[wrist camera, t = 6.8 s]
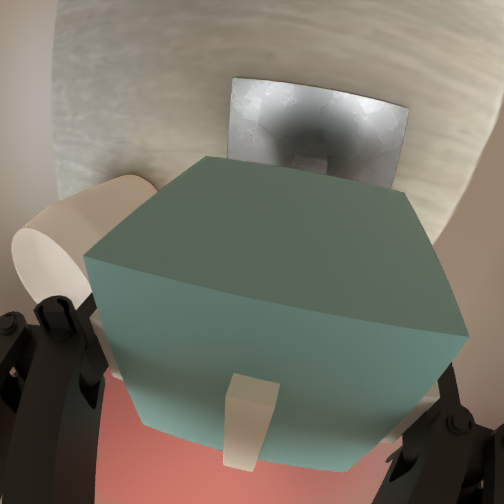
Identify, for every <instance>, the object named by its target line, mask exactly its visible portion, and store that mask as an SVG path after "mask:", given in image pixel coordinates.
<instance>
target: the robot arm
mask: <svg viewBox="0 0 504 504" xmlns="http://www.w3.org/2000/svg"><path fill="white" fill-rule="evenodd" d="M33 311H34V313H35V315H36V317H37V319H38V321H39V323H40V326H39V325H30V324H27V322H26V320H25V318H24V316H23V315H22V314H21V313H19V312H14V311H13V312H9V313H6V314H4V315H2V316H1V317H0V499H1V496H2V504H94V499H95V474H96V459H97V445H98V436H99V427H100V417H101V410H102V402H103V394H104V388H105V378H104V376H103V374H104V372H105V371H106V369H107V368H108V366H109V369H110V371H111V373H112V376H113V377H116V378H118V379H120V380H123V379H122V376H121V374H120V371H119V369H118V366H117V364H116V361H115V358H114V356H113V353H112V350H111V348H110V345H109V342H108V339H107V337H106V334H105V331H104V328H103V325H102V322H101V319H100V316H99V313H98V309H97V306H96V303H95V300H94V296H93V293H91V294H90V295H89V296H88V297H87V298H86V299H85V300H84V302H83V303H82V304H81V305H80V306H79V307H78V308H77V310H75V307H74V305H73V303H72V300H70V299H69V298H68V297H66V296H61V295H57V296H51V297H48V298H46V299H44V300H42V301H41V302H40V303H39V304H37V306H36V307H35V309H34V310H33ZM12 367H14V369H15V370H16V372H15V373H14V374H13V375H10V373H9V372H10V370H11V369H12ZM400 436H402V437H403V438H402V439H403V445H402V446H401V447H400V448H399V449H398V450H396V451H395V452H394V453H393V454H391V455H390V456H389V457H388V458H387V460H386V461H385V462H387V463H388V462H390V461H391V460H392V459H393V461H392V463H391V465H390V467H389V470H388V472H387V474H386V476H385V478H384V480H383V482H382V485H381V486H380V488H379V490H378V493H377V494H376V496H375V498H374V500H373V502H372V504H504V424H502V425H501V426H500V427H498V428H497V429H496V430H495V431H494V430H491V429H489V428H486V427H483V426H480V425H478V424H475V421H474V418H473V416H472V414H471V413H470V412H469V410H468V409H466V408H465V407H463V406H462V405H461V403H460V399H459V393H458V388H457V383H456V378H455V373H454V369H453V367H452V362H451V363H450V365H449V366H448V367H447V369H446V370H445V371H444V372H443V374H442V375H441V376H440V377H439V379H438V380H437V381H436V382H435V383H434V385H433V386H432V387H431V388H430V389H429V391H428V392H427V393H426V394H425V395H424V396H423V398H422V399H421V400H420V401H419V402H418V403H417V404H416V405H415V407H414V408H413V409H412V410H411V411H410V412H409V413H408V414H407V415H406V416H405V417H404V418H403V419H402V420H401V421H400V422H399V424H398V425H397V426H396V427H395V428H394V429H393V430H392V431H391V432H390V433H389V434H387V435H386V436H385V437H384V438H383V439H382V440H381V441H380V442H395V441H396V440H397V439H398V438H399V437H400ZM483 480H484V482H483V488H482V487H481V481H483Z"/></svg>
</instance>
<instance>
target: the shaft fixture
mask: <svg viewBox="0 0 504 504" xmlns="http://www.w3.org/2000/svg"><path fill="white" fill-rule="evenodd" d="M408 114H409V109H408V108H406V107H403V106H399V105H396V104H392V103H389V102H385V101H381V100H377V99H373V98H369V97H364V96H360V95H356V94H351V93H346V92H341V91H336V90H331V89H326V88H320V87H314V86H308V85H301V84H294V83H287V82H279V81H270V80H260V79H249V78H232V91H231V104H230V119H229V134H228V150H227V159H233V160H241V161H248V162H254V163H261V164H267V165H274V166H280V167H286V168H291V169H297V170H303V171H308V172H313V173H318V174H324V175H329V176H333V177H338V178H343V179H348V180H352V181H357V182H361V183H366V184H370V185H374V186H379V187H383V188H387V189H391V187H392V183H393V179H394V175H395V171H396V167H397V163H398V159H399V155H400V151H401V147H402V142H403V138H404V133H405V128H406V124H407V119H408Z"/></svg>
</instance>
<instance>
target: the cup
mask: <svg viewBox="0 0 504 504" xmlns="http://www.w3.org/2000/svg"><path fill="white" fill-rule="evenodd" d="M157 192H158V191H157V190H156V189H155V187H154V186H153V185H152V184H151V183H149V182H148V181H147V180H145V179H143V178H141V177H139V176H136V175H123V176H120V177H117V178H114V179H112V180H109V181H107V182H104V183H102V184H99V185H96V186H94V187H91V188H89V189H87V190H84V191H82V192H79V193H77V194H75V195H72V196H70V197H68V198H65V199H63V200H61V201H59V202H56V203H54V204H52V205H50V206H49V207H47V208H45V209H44V210H42V211H41V212H40V213H39V214H38V215H37V216H36V217H34V218H33V219H32V220H31V221H30V222H28V223H27V224H26V225H25V226H24V227H22V228H21V229H20V230H19V231H18V232H17V233H16V234H15V236H14V237H13V240H12V257H13V261H14V264H15V268H16V270H17V273H18V275H19V277H20V279H21V281H22V283H23V285H24V286H25V288H26V289H27V291H28V293H29V294H30V295H31V297H32V298H33V299H34V300H35V302H36V303H37V304H39V303H40V302H41V301H42V300H44V299H46V298H48V297H51V296H57V295H61V296H66V297H68V298H69V299H70V300H72V303H73V305H74V307H75V310H77V308H78V307H79V306H80V305H81V304H82V303H83V302H84V300H85V299H86V298H87V297H88V296H89V295H90V294H91V293H92V289H91V286H90V282H89V279H88V275H87V271H86V267H85V263H84V259H83V255H84V254H85V253H86V252H87V251H88V250H89V249H90V248H92V247H93V246H94V245H95V244H96V243H97V242H98V241H99V240H101V239H102V238H103V237H104V236H105V235H106V234H107V233H109V232H110V231H111V230H112V229H113V228H114V227H116V226H117V225H118V224H119V223H120V222H121V221H123V220H124V219H125V218H126V217H127V216H129V215H130V214H131V213H132V212H133V211H135V210H136V209H137V208H138V207H140V206H141V205H142V204H143V203H145V202H146V201H147V200H148V199H150V198H151V197H152V196H153V195H155V194H156V193H157Z"/></svg>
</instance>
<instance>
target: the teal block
mask: <svg viewBox="0 0 504 504" xmlns="http://www.w3.org/2000/svg"><path fill="white" fill-rule="evenodd" d="M83 259H84V263H85V267H86V271H87V275H88V279H89V282H90V286H91V289H92V293H93V296H94V300H95V303H96V306H97V309H98V313H99V316H100V319H101V322H102V325H103V328H104V331H105V334H106V337H107V339H108V342H109V345H110V348H111V350H112V353H113V356H114V358H115V361H116V364H117V366H118V369H119V371H120V374H121V376H122V379H123V381H124V383H125V386H126V388H127V390H128V393H129V395H130V397H131V399H132V401H133V404H134V406H135V408H136V410H137V412H138V415H139V417H140V419H141V421H142V423H143V424H144V425H146V426H149V427H151V428H154V429H157V430H159V431H162V432H165V433H167V434H170V435H173V436H176V437H179V438H182V439H185V440H188V441H191V442H194V443H198V444H201V445H204V446H208V447H211V448H214V449H218V450H222V451H223V452H224V453H223V465H225V466H229V467H233V468H237V469H241V470H245V471H250V472H253V469H254V467H255V464H256V461H257V459H259V460H264V461H269V462H274V463H279V464H285V465H290V466H297V467H303V468H311V469H318V470H327V471H337V472H346V471H347V470H348V469H350V468H351V467H352V466H353V465H354V464H356V463H357V462H358V461H359V460H360V459H361V458H363V457H364V456H365V455H366V454H367V453H368V452H369V451H370V450H372V449H373V447H375V446H376V445H377V444H378V443H379V442H380V441H381V440H382V439H383V438H384V437H385V436H386V435H387V434H389V433H390V432H391V431H392V430H393V429H394V428H395V427H396V426H397V425H398V424H399V422H400V421H401V420H402V419H403V418H404V417H405V416H406V415H407V414H408V413H409V412H410V411H411V410H412V409H413V408H414V407H415V405H416V404H417V403H418V402H419V401H420V400H421V399H422V398H423V396H424V395H425V394H426V393H427V392H428V391H429V389H430V388H431V387H432V386H433V385H434V383H435V382H436V381H437V380H438V379H439V377H440V376H441V375H442V374H443V372H444V371H445V370H446V369H447V367H448V366H449V365H450V363H451V362H452V361H453V359H454V358H455V357H456V355H457V354H458V352H459V351H460V350H461V348H462V347H463V346H464V344H465V343H466V341H467V339H468V338H469V334H468V331H467V328H466V326H465V323H464V320H463V317H462V315H461V312H460V309H459V307H458V304H457V302H456V299H455V296H454V294H453V291H452V289H451V287H450V284H449V282H448V280H447V277H446V275H445V273H444V270H443V268H442V266H441V264H440V261H439V259H438V257H437V255H436V253H435V251H434V249H433V247H432V244H431V242H430V240H429V238H428V236H427V234H426V232H425V230H424V228H423V226H422V225H421V223H420V221H419V219H418V217H417V215H416V213H415V211H414V210H413V208H412V206H411V204H410V202H409V200H408V199H407V197H406V195H405V193H403V192H399V191H395V190H391V189H387V188H383V187H379V186H374V185H370V184H366V183H361V182H357V181H352V180H348V179H343V178H338V177H333V176H329V175H324V174H318V173H313V172H308V171H303V170H297V169H291V168H286V167H280V166H274V165H267V164H261V163H254V162H248V161H241V160H233V159H226V158H218V157H210V156H205V157H204V158H203V159H201V160H200V161H198V162H197V163H196V164H194V165H193V166H192V167H190V168H189V169H187V170H186V171H185V172H183V173H182V174H181V175H179V176H178V177H177V178H175V179H174V180H173V181H171V182H170V183H169V184H167V185H166V186H165V187H164V188H162V189H161V190H160V191H158V192H157V193H156V194H155V195H153V196H152V197H151V198H150V199H148V200H147V201H146V202H145V203H143V204H142V205H141V206H140V207H138V208H137V209H136V210H135V211H133V212H132V213H131V214H130V215H129V216H127V217H126V218H125V219H124V220H123V221H121V222H120V223H119V224H118V225H117V226H116V227H114V228H113V229H112V230H111V231H110V232H109V233H107V234H106V235H105V236H104V237H103V238H102V239H101V240H99V241H98V242H97V243H96V244H95V245H94V246H93V247H92V248H90V249H89V250H88V251H87V252H86V253H85V254H84V255H83Z"/></svg>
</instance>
